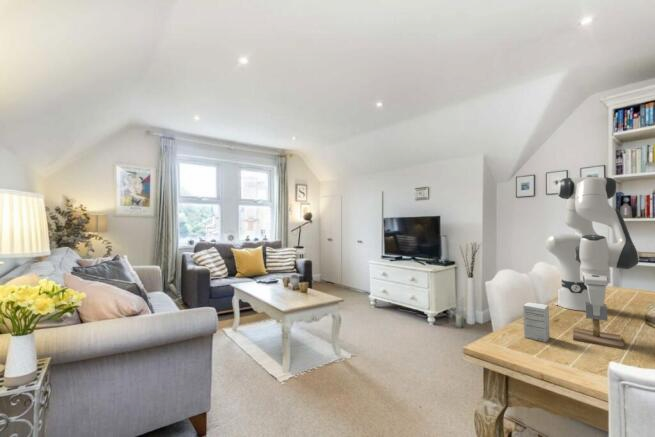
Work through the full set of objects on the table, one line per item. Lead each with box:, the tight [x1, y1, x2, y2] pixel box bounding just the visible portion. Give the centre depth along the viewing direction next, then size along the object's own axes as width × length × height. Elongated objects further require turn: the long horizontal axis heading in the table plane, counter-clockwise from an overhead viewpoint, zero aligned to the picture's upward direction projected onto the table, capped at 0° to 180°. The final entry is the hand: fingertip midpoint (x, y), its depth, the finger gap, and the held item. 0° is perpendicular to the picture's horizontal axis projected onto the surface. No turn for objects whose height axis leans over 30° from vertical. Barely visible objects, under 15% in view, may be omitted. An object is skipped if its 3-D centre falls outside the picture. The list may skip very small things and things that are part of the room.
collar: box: [585, 302, 608, 322], centre depth 116 cm, size 6×6×5 cm
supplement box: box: [522, 301, 551, 343], centre depth 119 cm, size 7×7×13 cm
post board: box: [572, 319, 625, 350], centre depth 116 cm, size 14×14×9 cm
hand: (596, 312), depth 116 cm, fingers closed on collar, 6 cm apart
